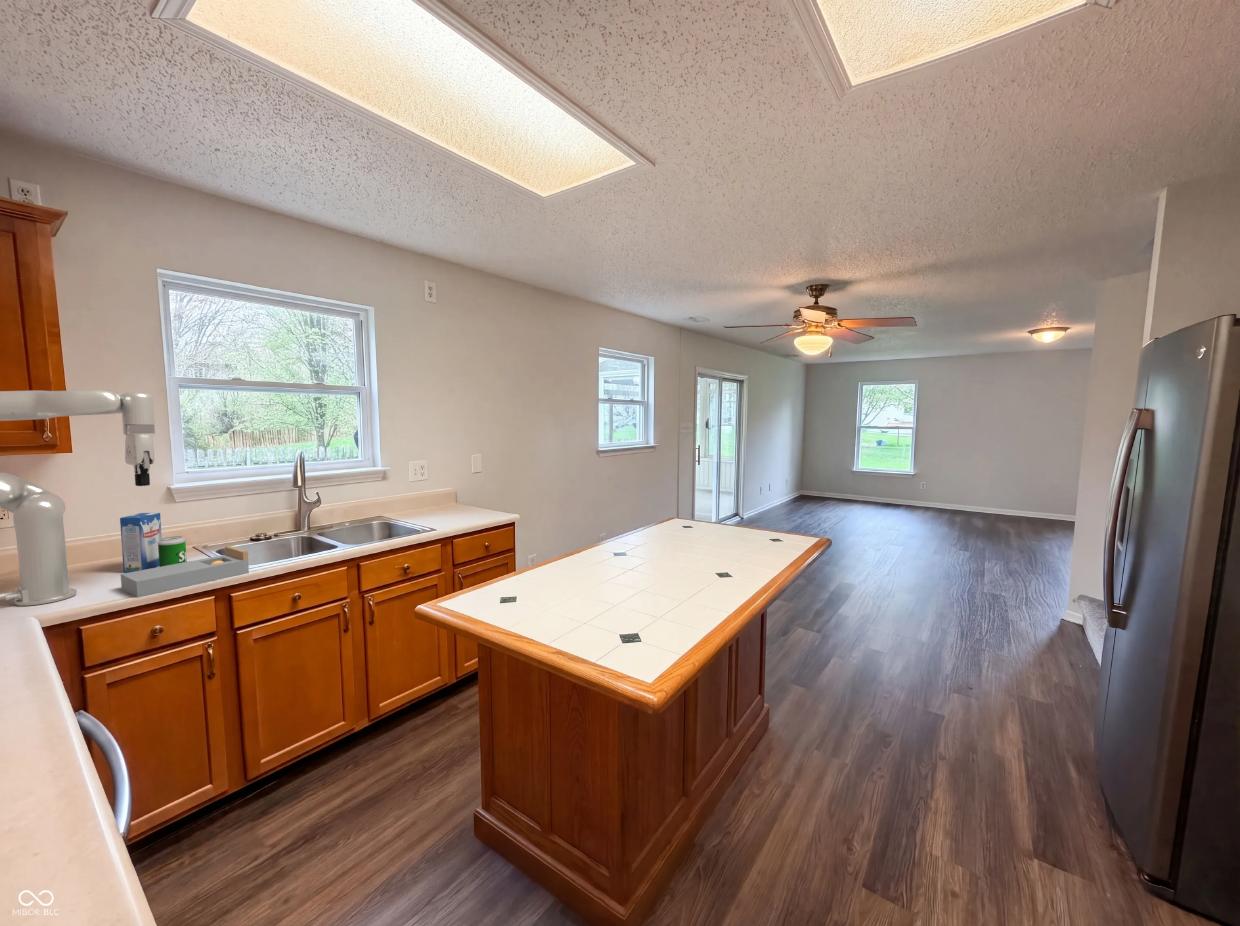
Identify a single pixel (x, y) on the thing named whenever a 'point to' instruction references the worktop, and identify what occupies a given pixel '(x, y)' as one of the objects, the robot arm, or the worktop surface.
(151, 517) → the milk carton
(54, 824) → the worktop surface
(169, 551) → the soda can
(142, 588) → the grey long boxy piece
